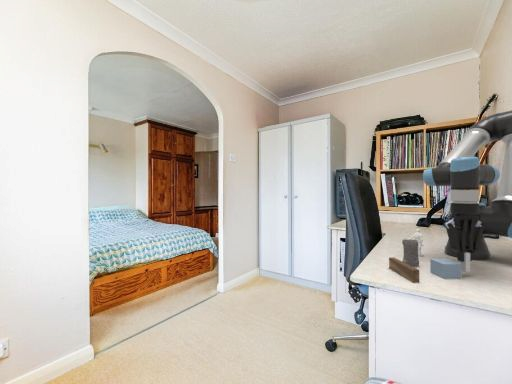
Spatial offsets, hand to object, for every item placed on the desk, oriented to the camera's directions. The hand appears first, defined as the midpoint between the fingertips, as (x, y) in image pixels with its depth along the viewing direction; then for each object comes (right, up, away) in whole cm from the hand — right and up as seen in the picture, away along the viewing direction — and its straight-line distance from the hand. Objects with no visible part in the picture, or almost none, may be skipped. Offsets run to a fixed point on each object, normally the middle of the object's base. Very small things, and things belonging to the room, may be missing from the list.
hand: (464, 270), depth 81 cm
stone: (-11, -2, +11) cm, 16 cm away
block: (-6, -2, 0) cm, 7 cm away
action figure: (0, -2, +25) cm, 25 cm away
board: (-20, -2, +1) cm, 20 cm away
